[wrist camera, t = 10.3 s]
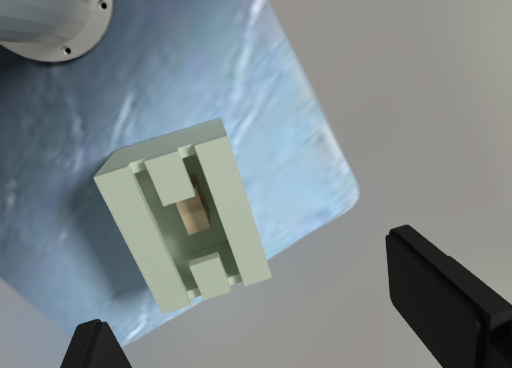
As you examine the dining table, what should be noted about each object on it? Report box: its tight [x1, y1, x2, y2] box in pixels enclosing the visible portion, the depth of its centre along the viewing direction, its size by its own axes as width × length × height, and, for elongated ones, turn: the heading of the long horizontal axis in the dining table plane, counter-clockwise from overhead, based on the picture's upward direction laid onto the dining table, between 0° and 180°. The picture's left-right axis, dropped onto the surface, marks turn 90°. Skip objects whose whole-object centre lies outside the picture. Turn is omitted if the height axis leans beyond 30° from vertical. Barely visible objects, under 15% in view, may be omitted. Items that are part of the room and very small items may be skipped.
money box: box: [93, 118, 272, 314], centre depth 36 cm, size 16×12×9 cm
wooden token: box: [175, 173, 211, 235], centre depth 38 cm, size 4×2×5 cm
